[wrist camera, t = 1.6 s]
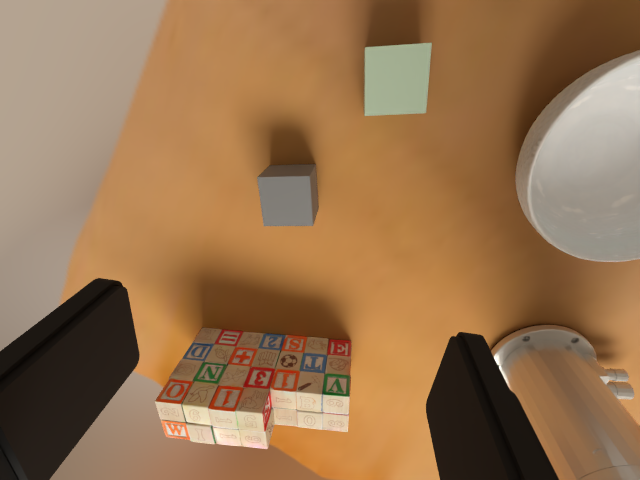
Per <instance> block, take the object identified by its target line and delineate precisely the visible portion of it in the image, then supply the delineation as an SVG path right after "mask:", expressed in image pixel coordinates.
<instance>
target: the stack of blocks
mask: <svg viewBox="0 0 640 480" xmlns="http://www.w3.org/2000/svg"><path fill="white" fill-rule="evenodd" d="M350 366H351V341H347V340H333V339H330V340H329V339H328V338H318V337H305V336H295V335H279V334H267V333H265V334H264V333H254V332H243V331H235V330H224V329H214V328H202V329H201V330H200V332H199V333H198V335H197V336H196V338H195V339H194V341H193V343H192V345H191V346H190V348H189V349H188V351H187V352H186V354H185V355H184V357H183V358H182V360H180V362H179V363H178V365H177V366H176V368H175V369H174V371H173V372H172V374H171V376H170V377H169V381H168V382H167V384H166V385H165V387H164V388H163V390H162V391H161V393H160V394H159V396H158V397H157V399H156V401H155V403H156V406H157V410H158V413H159V417H160V419H162V420H161V423H162V426H163V429H164V432H165V435H166V436H167V437H171V438H179V439H187V440H191V441H192V442H199V443H209V444H215V443H217V444H223V445H232V446H241V445H242V446H245V447H254V448H263V449H268V446H269V442H270V438H271V434H272V431H273V427H274V424H277V425H287V426H298V427H303V428H312V429H320V430H321V429H324V430H333V431H342V432H348V420H349V401H350V385H351V375H350Z"/></svg>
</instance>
